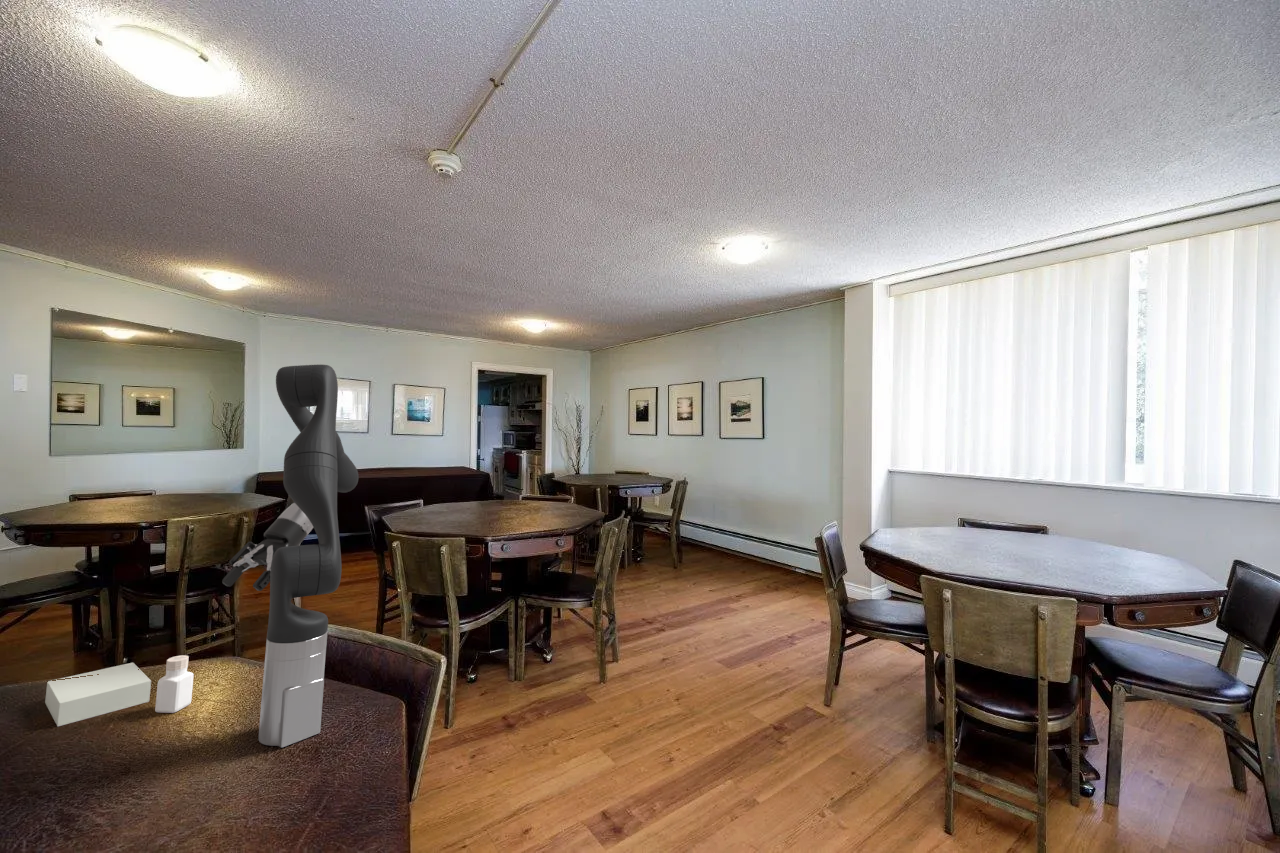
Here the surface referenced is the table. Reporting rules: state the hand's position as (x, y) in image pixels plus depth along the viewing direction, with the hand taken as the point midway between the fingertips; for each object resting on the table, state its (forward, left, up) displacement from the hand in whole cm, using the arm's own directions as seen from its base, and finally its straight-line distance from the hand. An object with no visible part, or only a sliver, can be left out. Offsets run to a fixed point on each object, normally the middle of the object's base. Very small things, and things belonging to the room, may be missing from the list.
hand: (240, 586), depth 110 cm
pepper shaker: (-4, +11, -21) cm, 24 cm away
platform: (+10, +19, -21) cm, 29 cm away
